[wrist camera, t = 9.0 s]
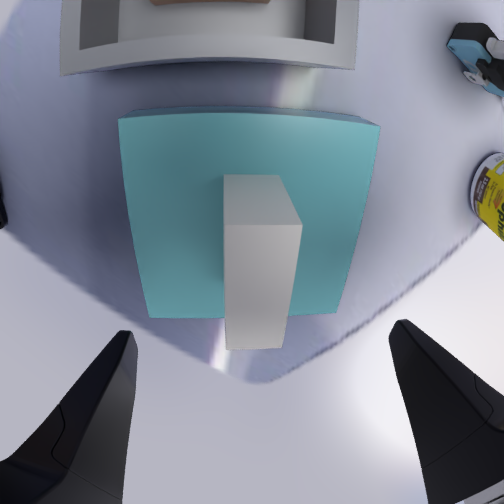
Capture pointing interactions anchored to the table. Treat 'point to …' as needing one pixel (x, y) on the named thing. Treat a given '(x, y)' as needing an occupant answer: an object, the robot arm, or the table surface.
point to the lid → (245, 212)
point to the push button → (480, 55)
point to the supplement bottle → (490, 193)
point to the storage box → (206, 33)
